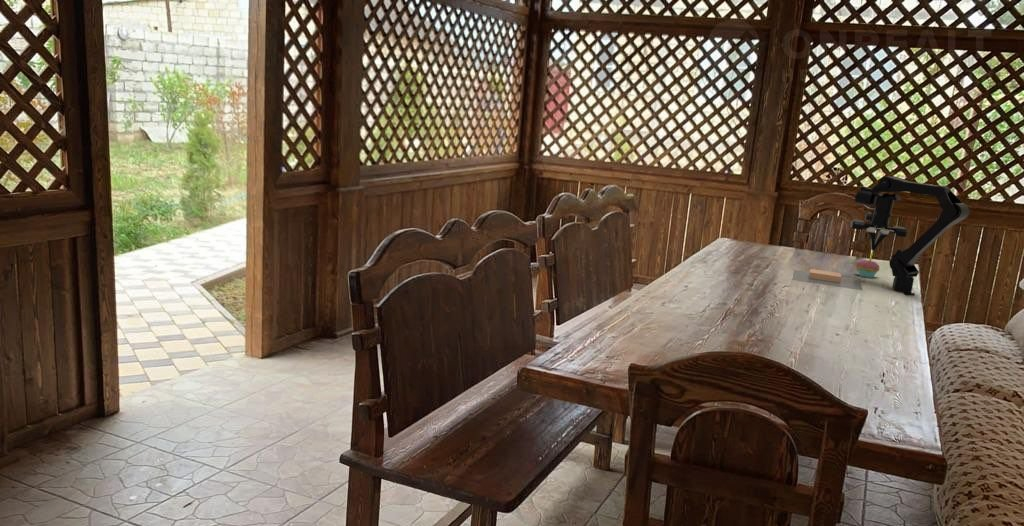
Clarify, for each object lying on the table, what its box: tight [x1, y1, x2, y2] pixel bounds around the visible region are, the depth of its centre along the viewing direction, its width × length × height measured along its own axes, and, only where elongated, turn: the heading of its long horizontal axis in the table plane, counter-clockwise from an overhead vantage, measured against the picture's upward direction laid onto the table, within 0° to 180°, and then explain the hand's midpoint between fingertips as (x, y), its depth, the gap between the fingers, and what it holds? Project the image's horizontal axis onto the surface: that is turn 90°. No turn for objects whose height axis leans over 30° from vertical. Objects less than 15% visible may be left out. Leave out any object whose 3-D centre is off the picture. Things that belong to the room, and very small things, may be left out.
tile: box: [809, 268, 842, 283], centre depth 280 cm, size 2×7×11 cm
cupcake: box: [855, 250, 880, 279], centre depth 291 cm, size 9×8×12 cm
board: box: [792, 269, 863, 291], centre depth 280 cm, size 24×20×1 cm
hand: (872, 250), depth 279 cm, fingers closed
